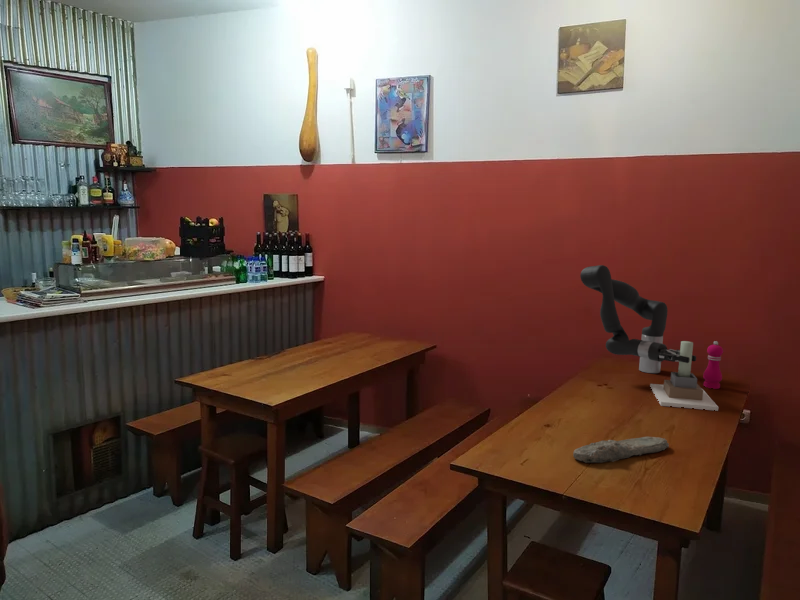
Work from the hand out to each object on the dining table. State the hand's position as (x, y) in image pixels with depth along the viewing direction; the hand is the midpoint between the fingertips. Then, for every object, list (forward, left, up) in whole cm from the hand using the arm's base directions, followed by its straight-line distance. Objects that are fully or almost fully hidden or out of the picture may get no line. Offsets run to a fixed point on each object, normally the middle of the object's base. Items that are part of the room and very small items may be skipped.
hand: (692, 359), depth 235 cm
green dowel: (-2, -2, -10) cm, 10 cm away
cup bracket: (-2, -2, -16) cm, 17 cm away
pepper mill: (-24, +14, -17) cm, 32 cm away
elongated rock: (+65, -32, -17) cm, 75 cm away
